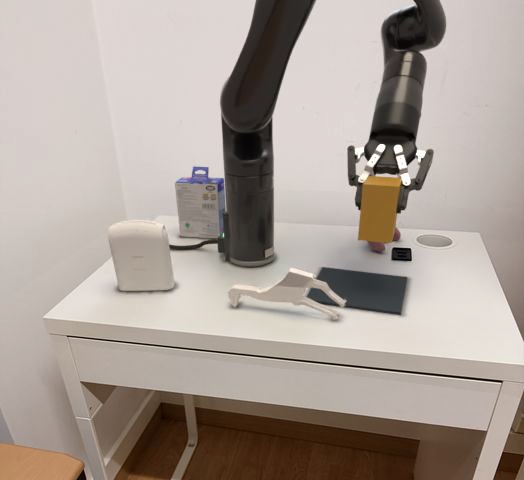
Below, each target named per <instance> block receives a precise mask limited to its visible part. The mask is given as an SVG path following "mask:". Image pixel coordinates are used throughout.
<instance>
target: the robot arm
mask: <svg viewBox="0 0 524 480" xmlns="http://www.w3.org/2000/svg"><path fill="white" fill-rule="evenodd" d="M412 1H413V3H414V4H412V5H411V4H410V5H408V6H405V7H402V8H399V9H396V10H394V11H391V12H390V13H388V15H387V16H386V17H385V18H384V20H383V21H382V24H381V27H380V41H381V47H382V56H383V72H382V77H381V83H380V86H379V87H380V88H379V92H378V93H377V97H376V101H375V105H374V109H373V110H374V111H373V115H372V120H371V121H372V122H371V125H370V131H369V135H368V140H367V142H366V143H365V145H364V146H363V147H356V146H354V145H349V146H347V147H346V149H347V156H346V157H347V181H348V185H349V186H350V187H356V190H355V196H354V204H355V207H357V210H358V211H361V200H362V190H363V183H364V182H365V180H366V178H367V177H368V176H377V175H385V174H386V175H387V174H388V175H391V176H396V178H401V179H402V182H401V187H400V192H399V198H398V203H397V212H396V213H397V215H398V214H399V215H401V214H402V211H406V209H407V206H408V200H409V194H410V192H412V191H421V190H422V188H423V187H424V183H425V181H426V178H427V176H428V174H429V171H430V168H431V166H432V164H433V160H434V153H435V151H434V149H432V148H428V149H426V150H420V149H418V146H417V144H416V143H417V137H418V131H419V126H420V120H421V117H422V109H423V102H424V101H423V100H424V88H425V83H426V77H427V71H428V63H427V60H426V57H425V56H424V54H422V53H421V52H425V51H429V50H432V49H435V48H436V47H438V46H439V45H440V44H441V43H442V41H443V39H444V38H445V35H446V31H447V17H446V13H445V10H444V7H443V4H442V2H441V0H412ZM316 3H317V0H255V2H254V8H253V12H252V18H251V22H250V26H249V30H248V32H247V35H246V38H245V41H244V44H243V46H242V48H241V50H240V52H239V55H238V58H237V60H236V62H235V65H234V66H233V69H232V70H231V73H230V75H229V76H228V77H227V78H226V80H225V81H224V82H223V85H222V87H221V90H220V95H219V96H220V97H219V108H220V118H221V119H220V121H221V122H220V123H221V136H222V161H223V174H224V175H223V178H224V189H225V206H226V212H225V213H224V214H223V230H224V232H223V233H222V234H221V235H220V236H219V237H217V239H207V240H202V241H200V242H198V243H197V244H188V245H187V244H186V245H177V244H170V243H169V248H170V250H176V251H177V250H185V251H186V250H195V249H200V248H202V247H204V246H206V245H217V253H218V254H224V261H226V262H230V263H232V264H234V265H236V266H239V267H246V268H247V267H248V268H249V267H261V266H265V265H268V264H270V263H272V262H273V261H274V260H275V154H274V135H273V133H274V132H273V120H274V119H273V116H274V114H275V109H276V106H277V101H278V100H279V99H278V98H279V95H280V91H281V88H282V84H283V81H284V77H285V74H286V71H287V67H288V64H289V62H290V59H291V56H292V53H293V51H294V48H295V46H296V44H297V42H298V41H299V38H300V36H301V34H302V32H303V31H304V28H305V26H306V24H307V22H308V20H309V17H310V15H311V13H312V12H313V9H314V7H315V5H316ZM362 157H364V158H365V160H366V161H367V163H366V164H365V166H364V169H363V171H362V172H361V174H360V175H359V174H357V164H359V162H360V161H361V158H362ZM415 159H416V160H417V165H418V166H419V168H418V170H417V173H416V175H415V177H413V178H410V174H409V171H408V170H409V169H408V166H409V165H410V164H411V163H413V161H414V160H415Z"/></svg>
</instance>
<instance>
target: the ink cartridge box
mask: <svg viewBox="0 0 524 480" xmlns="http://www.w3.org/2000/svg"><path fill="white" fill-rule="evenodd" d="M209 167H210V166H192V170H191V176H183V177H181V178H179V179H178V180H176V181H175V182H174V186H175V187H174V188H175V196H176V197H175V199H176V208H177V216H178V224H179V225H178V227H179V237H185V238H200V239H201V238H203V239H215V240H217V237H219V236H220V235H221V234H222V233H223V232H224V230H223V214H224V213H225V212H226V195H225V178H224V177H209V172H210V171H209V170H210V169H209ZM198 171H203V172H204V173H196V172H198Z"/></svg>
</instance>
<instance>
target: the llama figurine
mask: <svg viewBox="0 0 524 480" xmlns="http://www.w3.org/2000/svg"><path fill="white" fill-rule="evenodd" d="M316 278H317V276H316V275H315V273H313V272H312V273H311V272H308V271H305V270H301V269H297V268H294V267H290V268H289V270H288V271H287V273H286V274H285V276H283V277H281V278H280V279H279V280H278V281H276V282H274V283H273V284H272V285H270V286H268V287H264V288H261V287H259V286H253V285H244V284H234V285H232V286H231V287H230V288H229V290H228V291H227V295H228V299H229V300H230V303H231V306H232V307H234V308H237V306H238V305H239V301H240V299H241V298H242V296H245V297H250V298H253V299H255V300H258V301H263V302H270V303H286V304H292V305H294V306H305V307H308V308H310V309H313V310H316V311H318V312H320V313H323V314H325V315H328V316H330V317H332V320H333V321H334V320H337V319H339V316H338V315H340V312H339V311H338V310H335V309H333V308H331V307H330V306H329V307H328V306H326V305H325V304H321V303H317V302H315V301H313V300H311V299H310V298H308V297H307V296H304V295H305V292H306V290H307V288H318V289H321V290H323V291H324V292H325V293H326V294H327V295H328V296H329V297H330V298H331V299H332V300H334V301H335V302H336V303H338V304H339V305H340V306H338V307H339V308H340V307H341V309H343V308H345V307H344V306H345V305H344V304H345V302H346V301H347V300H345V299H344V300H343V299H342V298H340V297H339V296H338V295H337V294H335V293H334V292H333V291H332V290H331V289H330V288H329V287H328V285H327V283H326V282H323V281H319V280H316ZM241 295H242V296H241Z"/></svg>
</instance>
